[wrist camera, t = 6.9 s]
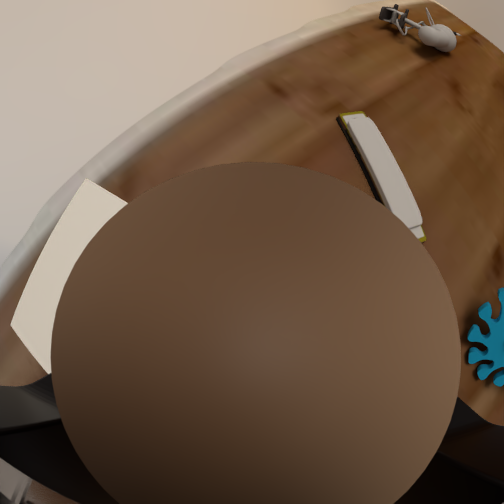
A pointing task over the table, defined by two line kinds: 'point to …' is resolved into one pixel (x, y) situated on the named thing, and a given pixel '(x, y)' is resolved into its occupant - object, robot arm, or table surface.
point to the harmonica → (381, 170)
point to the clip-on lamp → (422, 29)
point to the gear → (489, 342)
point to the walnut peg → (255, 344)
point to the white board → (60, 266)
